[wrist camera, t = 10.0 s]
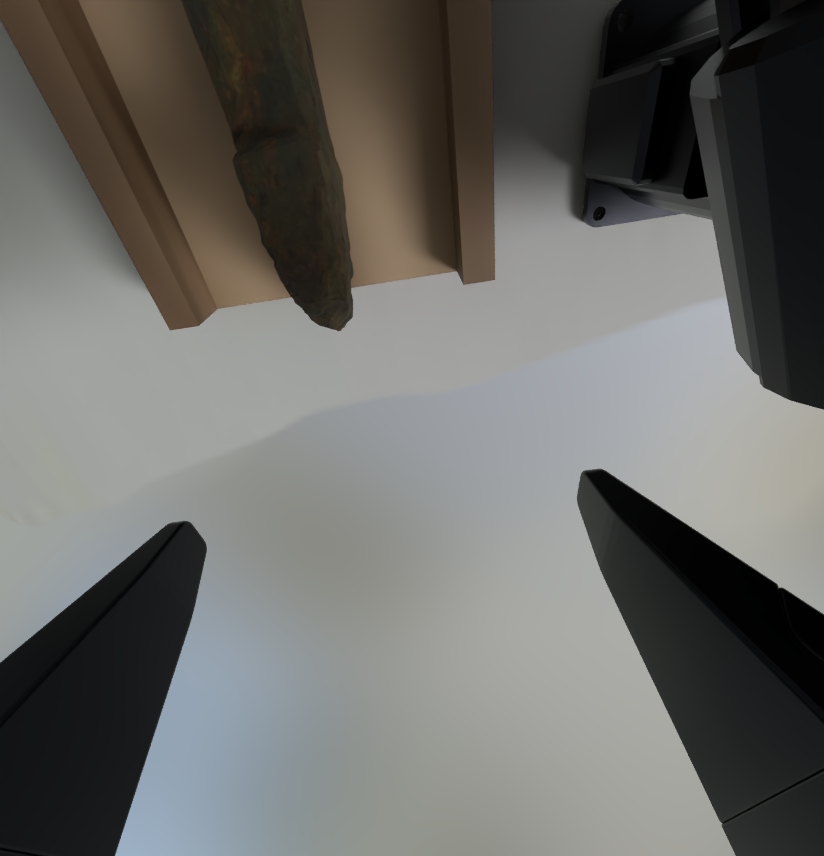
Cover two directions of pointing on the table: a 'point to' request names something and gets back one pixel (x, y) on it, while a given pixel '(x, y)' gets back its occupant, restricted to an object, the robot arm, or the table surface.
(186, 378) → the table surface
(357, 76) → the tool cradle
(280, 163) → the hand tool
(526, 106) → the table surface
